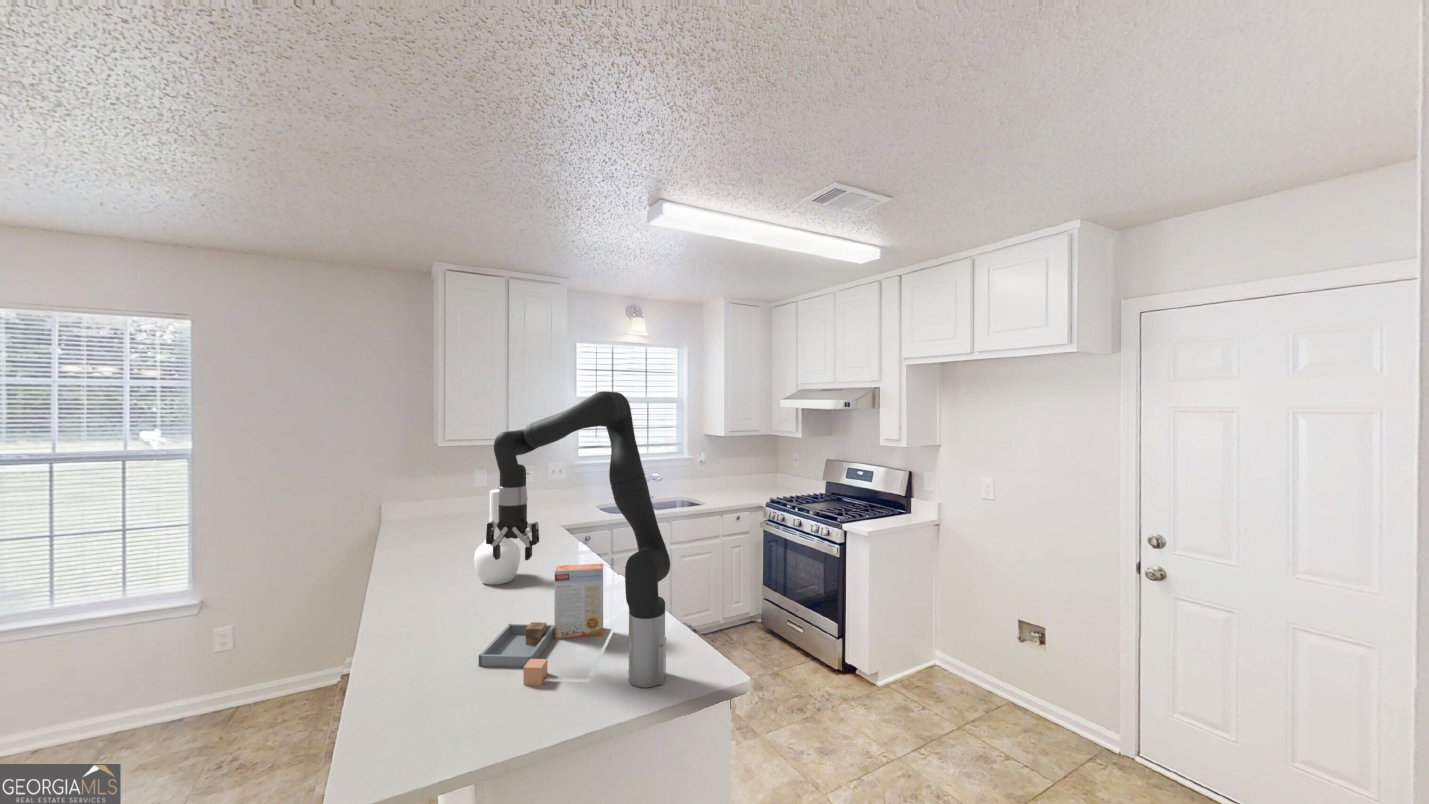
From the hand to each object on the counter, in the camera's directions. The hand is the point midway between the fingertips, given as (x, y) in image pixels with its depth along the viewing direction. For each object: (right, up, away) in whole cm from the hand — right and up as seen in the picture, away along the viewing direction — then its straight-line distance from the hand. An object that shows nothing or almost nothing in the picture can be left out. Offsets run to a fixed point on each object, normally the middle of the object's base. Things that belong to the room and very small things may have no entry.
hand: (512, 559), depth 153 cm
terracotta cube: (+11, -27, -15) cm, 32 cm away
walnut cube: (+5, -25, +5) cm, 26 cm away
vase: (-28, -25, +59) cm, 70 cm away
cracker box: (+16, -26, +11) cm, 33 cm away
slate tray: (+2, -26, 0) cm, 26 cm away
